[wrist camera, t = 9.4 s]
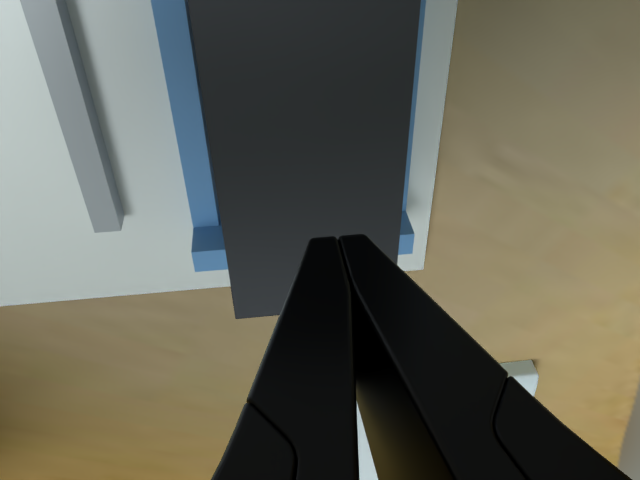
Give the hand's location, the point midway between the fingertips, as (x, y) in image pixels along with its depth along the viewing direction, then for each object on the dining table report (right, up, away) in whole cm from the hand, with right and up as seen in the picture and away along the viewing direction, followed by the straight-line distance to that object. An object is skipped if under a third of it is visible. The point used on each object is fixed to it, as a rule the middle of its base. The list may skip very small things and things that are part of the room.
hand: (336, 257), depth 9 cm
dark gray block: (-1, +6, +7) cm, 9 cm away
